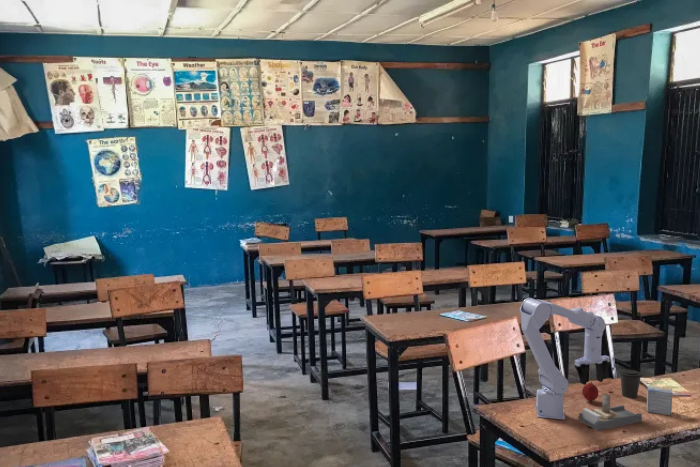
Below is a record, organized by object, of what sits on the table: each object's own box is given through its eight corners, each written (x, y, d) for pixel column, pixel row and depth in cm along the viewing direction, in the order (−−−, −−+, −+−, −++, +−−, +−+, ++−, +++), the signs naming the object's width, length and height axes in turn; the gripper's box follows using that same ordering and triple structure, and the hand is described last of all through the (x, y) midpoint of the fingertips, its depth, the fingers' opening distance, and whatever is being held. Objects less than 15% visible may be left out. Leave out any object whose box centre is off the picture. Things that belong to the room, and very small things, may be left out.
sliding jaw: (606, 421, 197) (607, 399, 196) (593, 414, 202) (594, 393, 202) (617, 419, 198) (618, 397, 198) (604, 412, 204) (605, 391, 203)
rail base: (597, 430, 194) (597, 418, 193) (578, 420, 202) (578, 407, 202) (641, 421, 201) (642, 409, 200) (621, 411, 209) (622, 399, 208)
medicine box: (670, 411, 209) (671, 388, 208) (671, 416, 205) (672, 392, 204) (646, 407, 212) (647, 385, 212) (646, 412, 208) (648, 389, 207)
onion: (600, 404, 215) (601, 384, 215) (585, 404, 216) (586, 384, 215) (594, 398, 221) (595, 378, 220) (579, 398, 221) (580, 378, 221)
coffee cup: (623, 390, 230) (624, 366, 229) (644, 395, 224) (645, 371, 223) (614, 395, 224) (615, 370, 223) (636, 401, 218) (637, 376, 217)
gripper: (585, 352, 202) (583, 388, 204) (616, 347, 207) (615, 383, 209) (571, 346, 209) (569, 382, 210) (602, 342, 214) (600, 377, 215)
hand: (591, 382), depth 210 cm, fingers open, 7 cm apart
